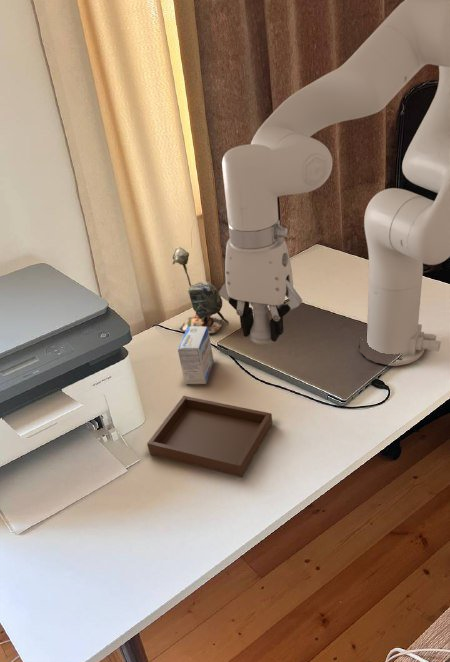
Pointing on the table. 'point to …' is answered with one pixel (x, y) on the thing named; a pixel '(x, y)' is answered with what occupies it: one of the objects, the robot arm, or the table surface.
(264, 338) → the rook chess piece
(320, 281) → the table surface
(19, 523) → the table surface
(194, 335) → the medicine box
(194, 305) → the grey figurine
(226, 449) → the tray
